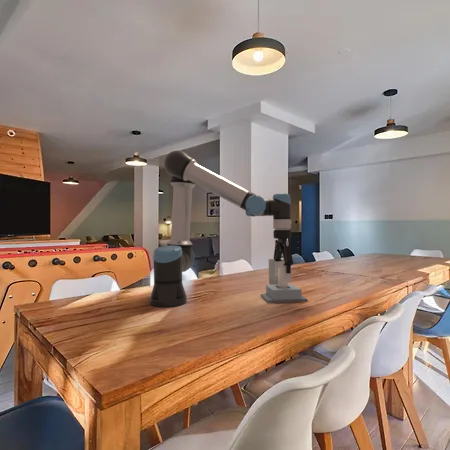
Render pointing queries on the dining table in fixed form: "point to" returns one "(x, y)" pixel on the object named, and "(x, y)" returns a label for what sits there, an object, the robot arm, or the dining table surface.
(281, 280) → the dowel
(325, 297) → the dining table surface
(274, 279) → the skincare box
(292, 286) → the socket
